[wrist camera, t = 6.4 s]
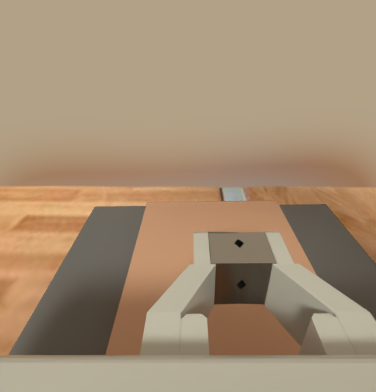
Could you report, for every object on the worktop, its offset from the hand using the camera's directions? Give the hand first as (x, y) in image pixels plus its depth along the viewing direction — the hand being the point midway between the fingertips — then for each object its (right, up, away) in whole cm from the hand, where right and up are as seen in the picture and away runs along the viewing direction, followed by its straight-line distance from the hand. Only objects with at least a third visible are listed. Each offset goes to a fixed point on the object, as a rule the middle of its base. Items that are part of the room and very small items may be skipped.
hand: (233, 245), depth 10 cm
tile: (0, -5, +1) cm, 5 cm away
